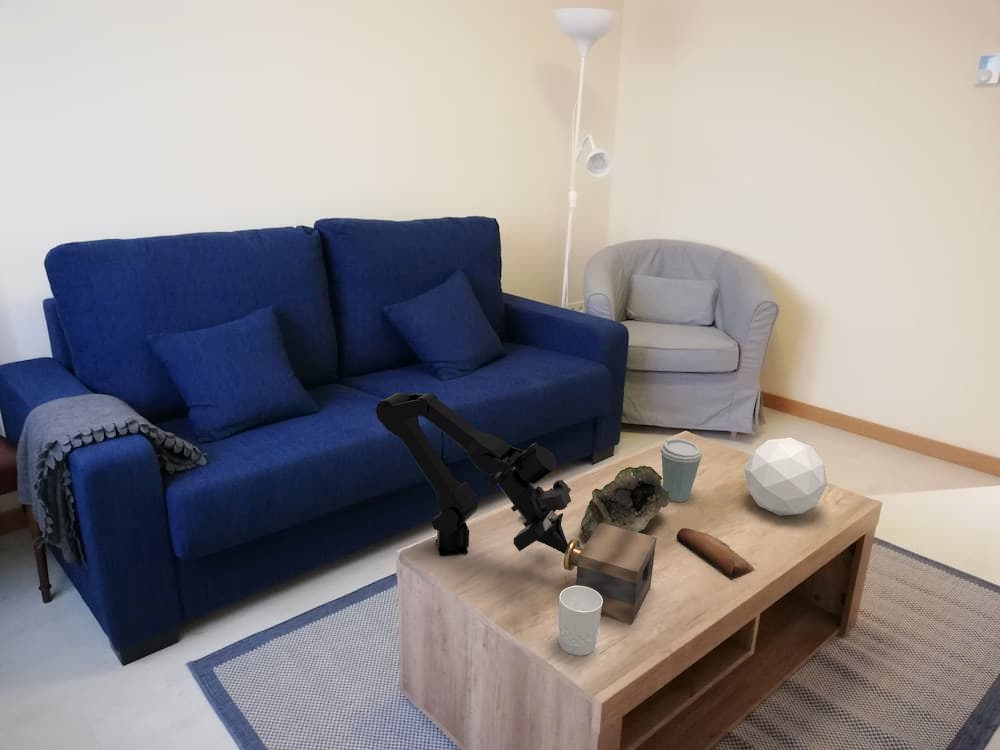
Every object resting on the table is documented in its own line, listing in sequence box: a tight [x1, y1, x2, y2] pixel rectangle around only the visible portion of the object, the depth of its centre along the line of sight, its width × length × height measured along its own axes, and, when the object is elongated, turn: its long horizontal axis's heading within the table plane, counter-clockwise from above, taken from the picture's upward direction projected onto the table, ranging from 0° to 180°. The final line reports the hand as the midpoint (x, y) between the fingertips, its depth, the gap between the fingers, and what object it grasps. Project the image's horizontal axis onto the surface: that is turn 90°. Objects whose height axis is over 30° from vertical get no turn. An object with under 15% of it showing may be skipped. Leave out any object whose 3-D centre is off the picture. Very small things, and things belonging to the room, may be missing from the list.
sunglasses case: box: [676, 527, 756, 580], centre depth 167 cm, size 18×7×7 cm
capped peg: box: [563, 538, 583, 572], centre depth 150 cm, size 12×6×6 cm, turn 65°
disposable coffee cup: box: [659, 437, 703, 503], centre depth 191 cm, size 11×11×15 cm
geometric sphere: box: [743, 437, 828, 517], centre depth 186 cm, size 19×20×20 cm
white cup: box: [558, 585, 603, 657], centre depth 135 cm, size 8×8×10 cm
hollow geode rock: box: [580, 465, 670, 543], centre depth 177 cm, size 28×13×15 cm
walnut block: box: [575, 523, 657, 626], centre depth 149 cm, size 12×14×12 cm
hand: (568, 552), depth 153 cm, fingers closed, pressing on capped peg
